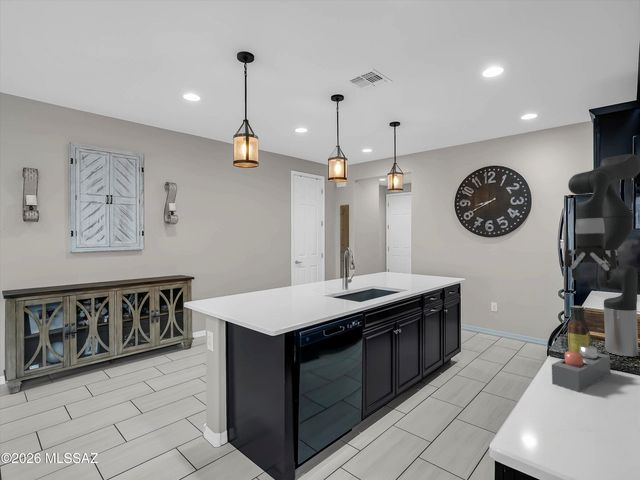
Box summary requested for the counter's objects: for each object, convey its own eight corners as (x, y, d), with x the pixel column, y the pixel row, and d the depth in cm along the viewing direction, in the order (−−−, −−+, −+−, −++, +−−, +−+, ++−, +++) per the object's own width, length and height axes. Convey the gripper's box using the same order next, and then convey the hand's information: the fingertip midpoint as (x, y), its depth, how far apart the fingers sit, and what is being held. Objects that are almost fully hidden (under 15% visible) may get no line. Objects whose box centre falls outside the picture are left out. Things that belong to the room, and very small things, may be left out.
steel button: (583, 359, 111) (583, 344, 111) (600, 363, 108) (599, 347, 108) (577, 362, 109) (577, 346, 109) (594, 366, 105) (593, 350, 105)
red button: (569, 366, 106) (568, 350, 106) (585, 370, 102) (585, 354, 102) (562, 369, 104) (562, 353, 104) (579, 373, 100) (578, 357, 100)
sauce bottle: (595, 366, 115) (593, 308, 115) (575, 365, 116) (573, 308, 116) (584, 359, 122) (582, 304, 122) (565, 358, 123) (563, 304, 123)
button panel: (584, 367, 114) (584, 349, 114) (610, 374, 108) (609, 355, 108) (552, 383, 103) (551, 364, 103) (578, 392, 97) (578, 371, 97)
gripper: (621, 231, 107) (623, 281, 107) (570, 232, 119) (571, 278, 119) (612, 231, 103) (613, 283, 103) (560, 233, 116) (561, 279, 116)
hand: (591, 280), depth 111 cm, fingers open, 8 cm apart
